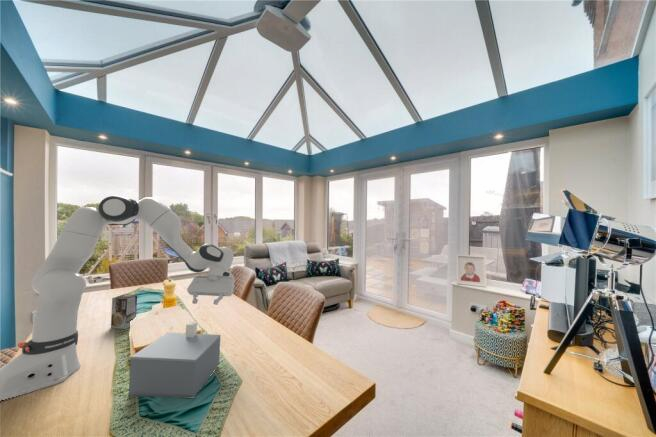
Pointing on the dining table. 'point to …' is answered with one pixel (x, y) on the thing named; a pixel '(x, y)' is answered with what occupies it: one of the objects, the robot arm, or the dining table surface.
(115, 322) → the coffee box
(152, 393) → the carton
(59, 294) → the robot arm
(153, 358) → the grey box lid
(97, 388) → the dining table surface
